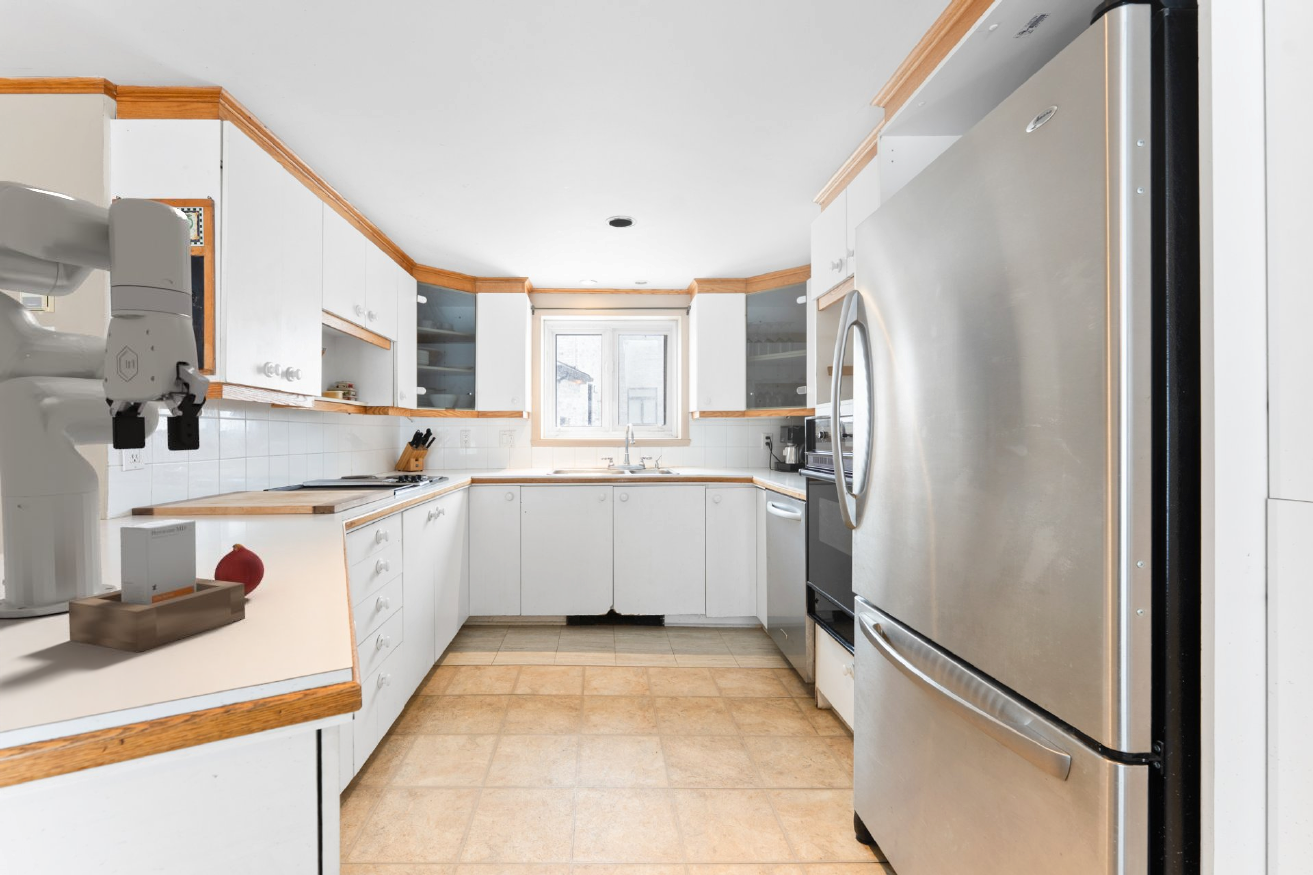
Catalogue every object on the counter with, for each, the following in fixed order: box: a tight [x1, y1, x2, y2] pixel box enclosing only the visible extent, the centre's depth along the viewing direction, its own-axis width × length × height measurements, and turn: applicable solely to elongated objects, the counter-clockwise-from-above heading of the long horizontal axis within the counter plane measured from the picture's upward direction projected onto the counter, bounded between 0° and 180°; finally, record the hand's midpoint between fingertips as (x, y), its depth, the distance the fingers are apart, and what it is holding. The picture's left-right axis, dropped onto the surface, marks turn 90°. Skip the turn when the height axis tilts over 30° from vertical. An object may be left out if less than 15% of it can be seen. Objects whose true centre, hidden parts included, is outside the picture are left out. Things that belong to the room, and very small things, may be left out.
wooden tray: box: [68, 577, 246, 653], centre depth 73 cm, size 12×12×4 cm
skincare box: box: [119, 518, 197, 605], centre depth 73 cm, size 6×4×12 cm
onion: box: [213, 543, 265, 597], centre depth 85 cm, size 6×6×8 cm
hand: (156, 449), depth 73 cm, fingers open, 9 cm apart
